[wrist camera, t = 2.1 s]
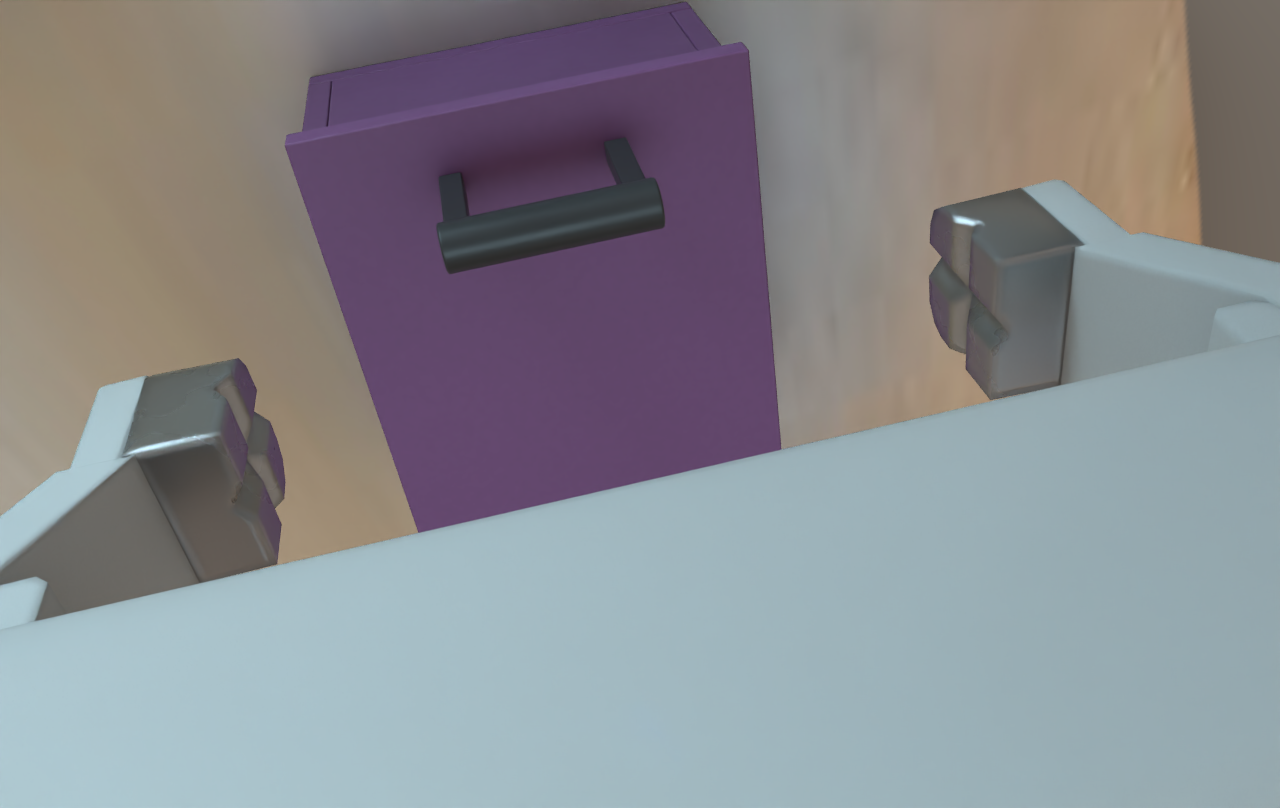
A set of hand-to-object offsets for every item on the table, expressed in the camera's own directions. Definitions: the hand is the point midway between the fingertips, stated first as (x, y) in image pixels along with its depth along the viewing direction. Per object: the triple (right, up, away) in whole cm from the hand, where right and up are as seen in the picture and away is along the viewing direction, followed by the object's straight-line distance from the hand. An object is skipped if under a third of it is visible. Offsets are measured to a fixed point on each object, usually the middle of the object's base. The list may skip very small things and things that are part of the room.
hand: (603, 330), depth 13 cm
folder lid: (-2, +1, +25) cm, 25 cm away
